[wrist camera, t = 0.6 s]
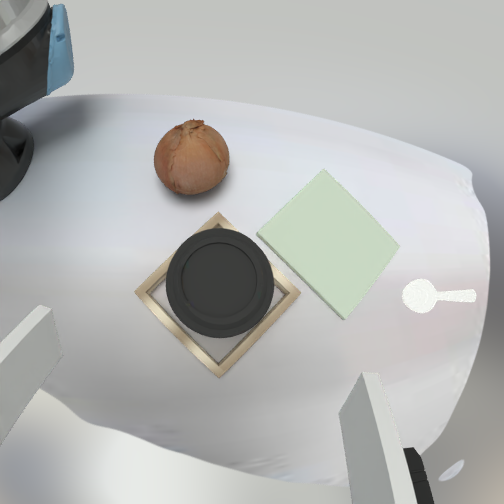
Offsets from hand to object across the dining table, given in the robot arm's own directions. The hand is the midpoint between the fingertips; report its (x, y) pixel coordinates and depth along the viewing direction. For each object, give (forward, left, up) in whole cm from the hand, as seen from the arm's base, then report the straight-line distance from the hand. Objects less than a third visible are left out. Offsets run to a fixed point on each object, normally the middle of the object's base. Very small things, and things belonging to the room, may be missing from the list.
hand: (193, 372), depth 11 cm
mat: (+3, +21, -25) cm, 33 cm away
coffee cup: (-3, +5, -26) cm, 26 cm away
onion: (-17, +14, -26) cm, 34 cm away
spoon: (+23, +29, -26) cm, 45 cm away
